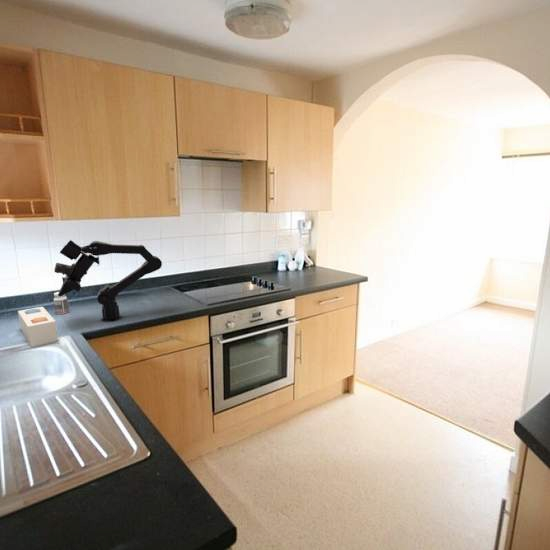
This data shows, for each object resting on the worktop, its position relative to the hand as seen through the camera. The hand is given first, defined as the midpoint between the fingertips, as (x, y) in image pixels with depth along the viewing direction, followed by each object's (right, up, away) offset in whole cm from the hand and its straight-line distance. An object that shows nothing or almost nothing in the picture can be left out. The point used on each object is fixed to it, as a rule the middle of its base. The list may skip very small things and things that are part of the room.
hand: (59, 295), depth 158 cm
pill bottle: (-11, -9, +21) cm, 25 cm away
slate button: (-9, -8, -3) cm, 12 cm away
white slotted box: (-4, -15, -8) cm, 17 cm away
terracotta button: (+1, -10, -15) cm, 18 cm away
